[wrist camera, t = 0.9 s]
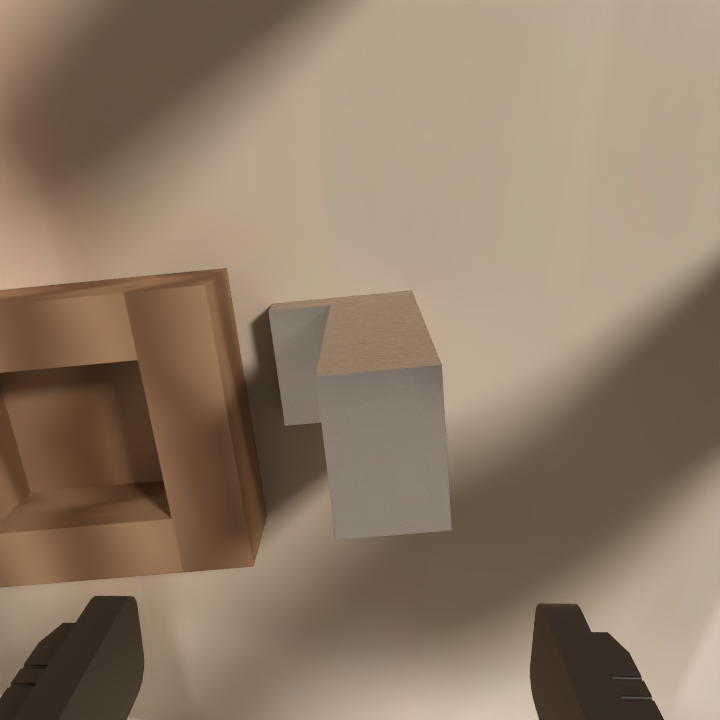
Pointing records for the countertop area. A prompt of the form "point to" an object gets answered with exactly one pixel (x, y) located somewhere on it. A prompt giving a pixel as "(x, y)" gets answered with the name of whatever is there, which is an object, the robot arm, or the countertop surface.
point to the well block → (124, 431)
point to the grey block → (369, 408)
